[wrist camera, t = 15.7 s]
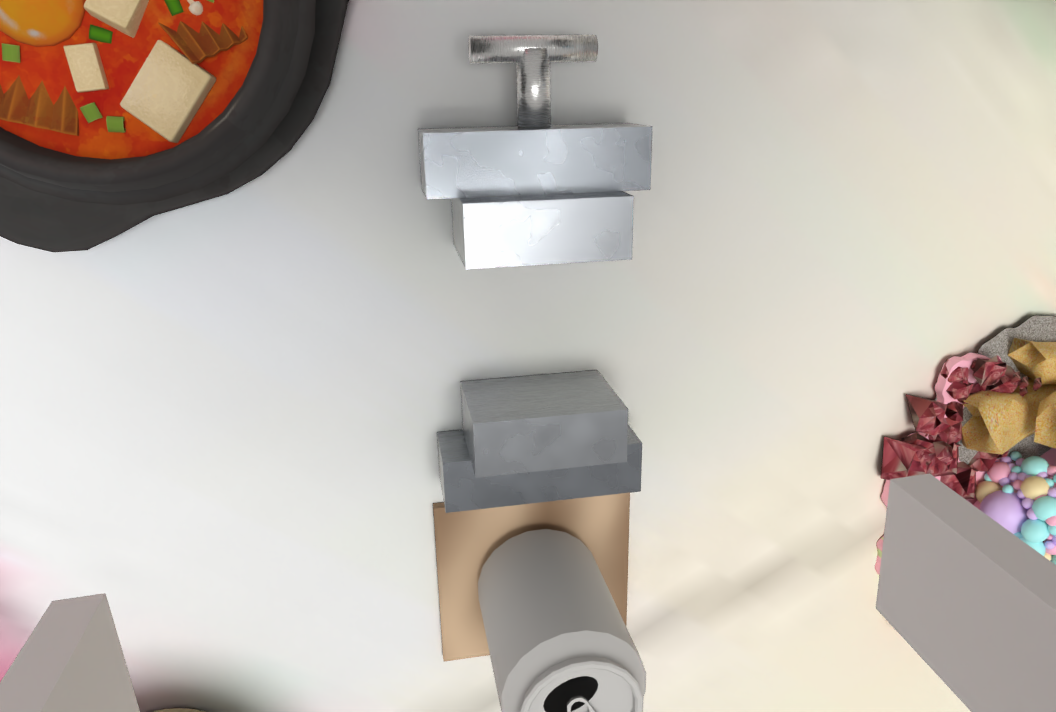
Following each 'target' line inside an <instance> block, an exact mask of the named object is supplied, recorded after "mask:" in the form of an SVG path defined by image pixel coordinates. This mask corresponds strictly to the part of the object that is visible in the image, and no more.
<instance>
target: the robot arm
mask: <svg viewBox="0 0 1056 712" xmlns="http://www.w3.org/2000/svg"><path fill="white" fill-rule="evenodd" d="M876 609H877V610H878V611H879V612H880V613H881V614H882V615H883V617H884V618H885V619H886V620H887V621H888V622H889V623H890V624H891V625H892V626H893V627H894V628H895V630H896V631H897V632H898V633H899V634H900V635H901V636H902V637H903V638H904V639H905V640H906V641H907V643H908V644H909V645H910V646H911V647H912V648H913V649H914V650H915V651H916V652H917V653H918V654H919V655H920V657H921V658H922V659H923V660H924V661H925V662H926V663H927V664H928V665H929V666H930V667H931V668H932V670H933V671H934V672H935V673H936V674H937V675H938V676H939V677H940V678H941V679H942V680H943V681H944V683H945V684H946V685H947V686H948V687H949V688H950V689H951V690H952V691H953V692H954V693H955V694H956V696H957V697H958V698H959V699H960V700H961V701H962V702H963V703H964V704H965V705H966V706H967V707H968V709H969V710H970V711H971V712H1056V565H1055V564H1054V563H1052V562H1051V561H1049V560H1048V559H1047V558H1045V557H1044V556H1043V555H1041V554H1040V553H1038V552H1037V551H1036V550H1034V549H1033V548H1032V547H1030V546H1029V545H1027V544H1026V543H1025V542H1023V541H1022V540H1021V539H1019V538H1018V537H1016V536H1015V535H1014V534H1012V533H1011V532H1010V531H1008V530H1007V529H1005V528H1004V527H1003V526H1001V525H1000V524H999V523H997V522H996V521H994V520H993V519H992V518H990V517H989V516H988V515H986V514H985V513H983V512H982V511H981V510H979V509H978V508H977V507H975V506H974V505H972V504H971V503H970V502H968V501H967V500H966V499H964V498H963V497H961V496H960V495H959V494H957V493H956V492H955V491H953V490H952V489H950V488H949V487H948V486H946V485H945V484H944V483H942V482H941V481H939V480H938V479H937V478H935V477H934V476H933V475H931V474H923V475H916V476H909V477H903V478H896V479H890V486H889V495H888V504H887V513H886V522H885V531H884V539H883V548H882V557H881V566H880V575H879V584H878V592H877V601H876ZM0 712H140V710H139V706H138V703H137V699H136V696H135V693H134V689H133V686H132V682H131V679H130V676H129V672H128V669H127V665H126V662H125V659H124V655H123V652H122V648H121V645H120V641H119V638H118V635H117V631H116V628H115V624H114V621H113V618H112V614H111V611H110V607H109V604H108V601H107V597H106V594H98V595H91V596H84V597H77V598H70V599H63V600H57V601H52V602H51V604H50V605H49V607H48V609H47V610H46V612H45V613H44V615H43V616H42V618H41V619H40V621H39V623H38V624H37V626H36V627H35V629H34V630H33V632H32V634H31V635H30V637H29V638H28V640H27V641H26V643H25V644H24V646H23V648H22V649H21V651H20V652H19V654H18V655H17V657H16V658H15V660H14V662H13V663H12V665H11V666H10V668H9V669H8V671H7V673H6V674H5V676H4V677H3V679H2V680H1V682H0Z"/></svg>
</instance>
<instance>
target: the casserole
mask: <svg viewBox="0 0 1056 712" xmlns="http://www.w3.org/2000/svg"><path fill="white" fill-rule="evenodd" d="M348 1H349V0H0V236H1V237H3V238H6V239H8V240H10V241H13V242H15V243H17V244H21V245H25V246H29V247H34V248H38V249H42V250H46V251H51V252H65V251H80V250H88V249H90V248H92V247H94V246H96V245H99V244H101V243H103V242H105V241H107V240H109V239H111V238H113V237H115V236H117V235H119V234H121V233H123V232H125V231H127V230H128V229H130V228H132V227H134V226H136V225H138V224H139V223H141V222H143V221H145V220H147V219H148V218H150V217H152V216H154V215H158V214H161V213H165V212H168V211H171V210H175V209H178V208H182V207H185V206H188V205H192V204H195V203H199V202H202V201H205V200H209V199H212V198H215V197H219V196H222V195H225V194H228V193H230V192H232V191H234V190H235V189H237V188H239V187H241V186H243V185H245V184H246V183H248V182H250V181H252V180H254V179H255V178H257V177H259V176H261V175H262V174H263V173H265V172H266V171H267V170H268V169H269V168H270V167H271V166H273V165H274V164H275V163H276V162H277V161H278V160H279V159H281V158H282V157H283V156H284V155H285V154H286V153H288V152H289V151H290V150H291V149H292V147H293V146H294V145H295V143H296V142H297V141H298V139H299V138H300V136H301V135H302V134H303V132H304V131H305V130H306V128H307V127H308V126H309V124H310V123H311V122H312V120H313V119H314V117H315V115H316V112H317V110H318V108H319V106H320V104H321V102H322V99H323V97H324V95H325V93H326V91H327V89H328V87H329V84H330V81H331V77H332V72H333V68H334V63H335V59H336V54H337V50H338V45H339V41H340V36H341V32H342V27H343V23H344V18H345V14H346V9H347V4H348Z"/></svg>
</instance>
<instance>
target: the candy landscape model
mask: <svg viewBox="0 0 1056 712" xmlns="http://www.w3.org/2000/svg"><path fill="white" fill-rule="evenodd" d="M935 391H936V394H937V397H936V399H935V400H929V399H925V398H920V397H916V396H911V395H907V394H906V397H907V401H908V404H909V408H910V412H911V415H912V419H913V423H914V426H915V430H916V431H917V432H918V433H912V434H910V435H908V436H907V437H904V438H902V440H901V441H899V440H895V439H891V438H887V437H884V443H883V455H882V467H881V478H882V479H886V483H885V485H884V489H883V493H882V495H881V499H882V501H883V503H884V504H885V505H886V507H887V504H888V495H889V486H890V479H896V478H903V477H909V476H916V475H923V474H931V475H933V476H934V477H935V478H937V479H938V480H939V481H941V482H942V483H944V484H945V485H946V486H948V487H949V488H950V489H952V490H953V491H955V492H956V493H957V494H959V495H960V496H961V497H963V498H964V499H966V500H967V501H968V502H970V503H971V504H972V505H974V506H975V507H977V508H978V509H979V510H981V511H982V512H983V513H985V514H986V515H988V516H989V517H990V518H992V519H993V520H994V521H996V522H997V523H999V524H1000V525H1001V526H1003V527H1004V528H1005V529H1007V530H1008V531H1010V532H1011V533H1012V534H1014V535H1015V536H1016V537H1018V538H1019V539H1021V540H1022V541H1023V542H1025V543H1026V544H1027V545H1029V546H1030V547H1032V548H1033V549H1034V550H1036V551H1037V552H1038V553H1040V554H1041V555H1043V556H1044V557H1045V558H1047V559H1048V560H1049V561H1051V562H1052V563H1054V564H1055V565H1056V316H1055V317H1053V316H1038V315H1035V316H1032V317H1031V318H1029V319H1028V320H1026V321H1025V322H1024V323H1023V324H1021V325H1020V326H1018V327H1016V328H1006V329H1004V330H1003V331H1001V332H1000V333H999V334H998V335H996V336H995V337H994V338H992V339H991V340H989V341H988V342H986V343H985V344H983V345H982V346H981V347H980V349H979V351H978V354H976V353H967V354H966V355H964V356H962V357H957V356H953V357H951V358H949V359H947V360H946V362H945V363H944V364H943V367H942V369H941V372H940V374H939V376H938V380H937V383H936V385H935ZM883 539H884V535H883V536H882V537H881V538H880V539H879V540H878V542H877V547H878V556H877V561H876V564H875V569H876V571H877V573H878V574H879V575H880V566H881V557H882V548H883Z"/></svg>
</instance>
